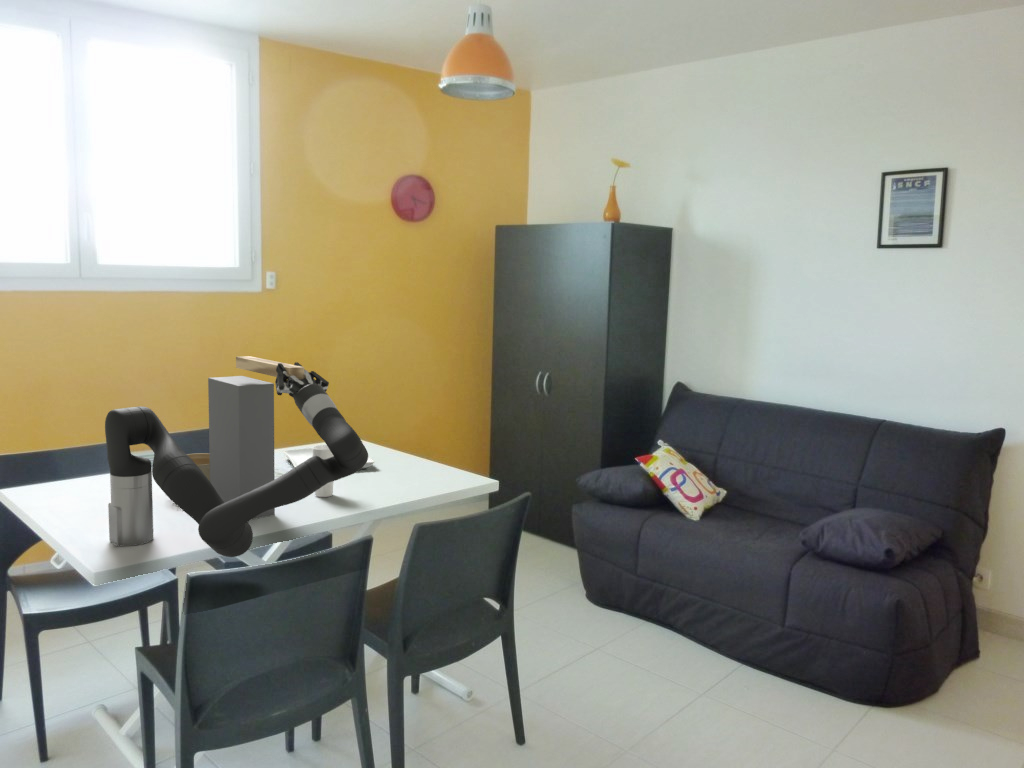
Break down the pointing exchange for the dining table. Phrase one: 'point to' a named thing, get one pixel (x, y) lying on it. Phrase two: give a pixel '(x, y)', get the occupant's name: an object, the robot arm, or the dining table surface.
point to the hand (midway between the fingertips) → (287, 365)
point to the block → (267, 366)
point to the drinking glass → (324, 454)
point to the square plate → (309, 456)
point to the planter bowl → (202, 462)
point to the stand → (241, 435)
